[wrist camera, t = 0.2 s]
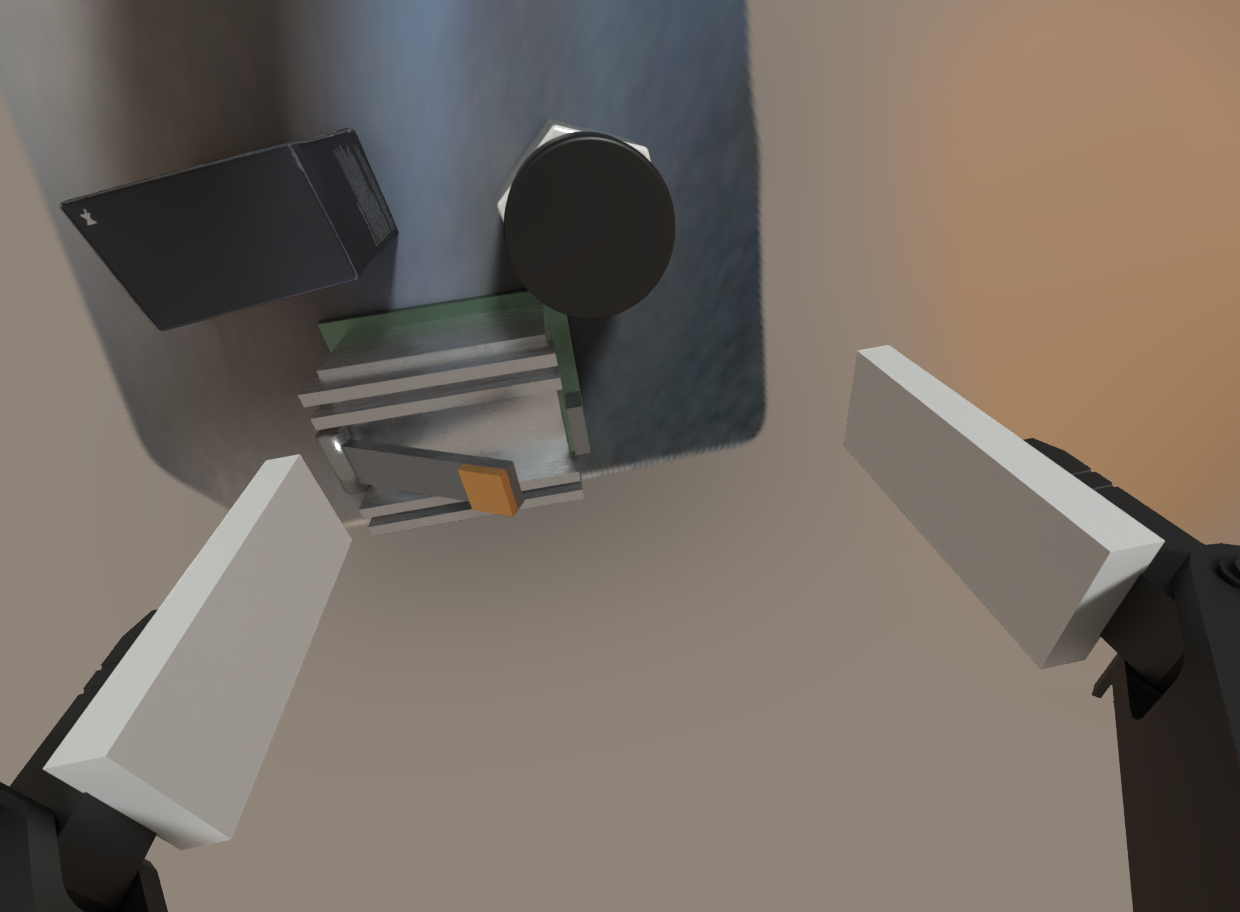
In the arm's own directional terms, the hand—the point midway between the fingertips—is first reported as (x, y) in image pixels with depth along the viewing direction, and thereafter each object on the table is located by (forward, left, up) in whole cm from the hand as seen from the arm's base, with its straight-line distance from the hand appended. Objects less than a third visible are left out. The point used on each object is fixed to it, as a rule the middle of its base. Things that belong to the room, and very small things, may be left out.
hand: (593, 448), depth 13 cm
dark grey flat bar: (+11, -11, -18) cm, 23 cm away
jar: (-2, +2, -28) cm, 28 cm away
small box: (-3, -16, -28) cm, 32 cm away
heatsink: (+11, -9, -27) cm, 31 cm away
